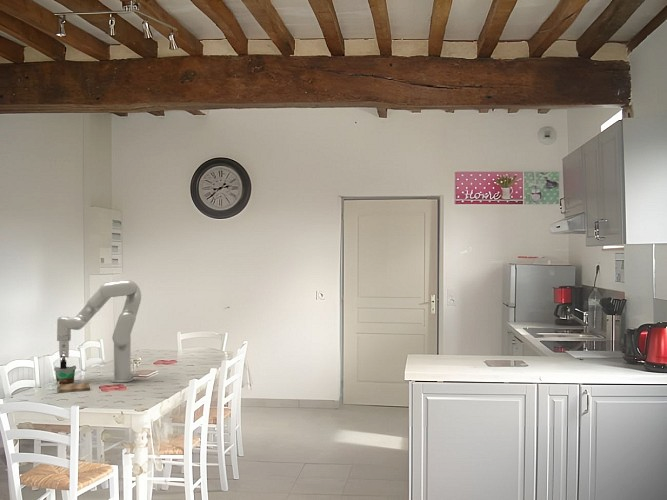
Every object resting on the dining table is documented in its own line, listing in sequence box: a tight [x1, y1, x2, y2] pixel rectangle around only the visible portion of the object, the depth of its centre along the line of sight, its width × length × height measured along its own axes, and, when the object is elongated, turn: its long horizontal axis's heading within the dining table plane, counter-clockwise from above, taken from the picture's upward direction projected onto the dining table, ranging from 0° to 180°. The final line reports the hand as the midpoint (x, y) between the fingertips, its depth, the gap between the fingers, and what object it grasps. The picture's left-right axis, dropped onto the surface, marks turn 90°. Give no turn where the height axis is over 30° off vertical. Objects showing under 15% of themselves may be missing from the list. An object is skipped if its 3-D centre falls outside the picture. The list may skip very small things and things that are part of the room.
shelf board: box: [56, 381, 91, 394], centre depth 393 cm, size 17×16×4 cm
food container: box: [53, 365, 77, 385], centre depth 409 cm, size 12×6×10 cm, turn 105°
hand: (63, 367), depth 409 cm, fingers open, 9 cm apart
